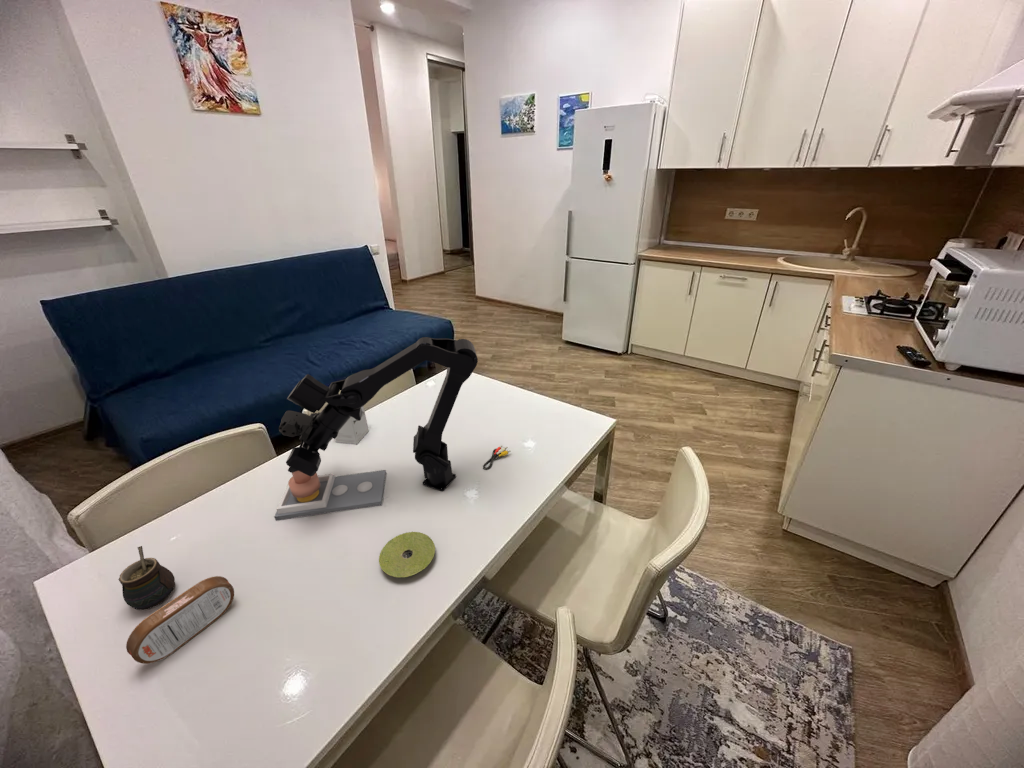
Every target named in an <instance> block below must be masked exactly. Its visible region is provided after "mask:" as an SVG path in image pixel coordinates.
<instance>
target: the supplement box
mask: <svg viewBox="0 0 1024 768" xmlns="http://www.w3.org/2000/svg"><path fill="white" fill-rule="evenodd" d="M361 409H362V411H363V413H362V417H361V420H360V421H358V420H356V419H355V418H353V417H350V419H349V420H348V421H347V422H346V423H345V424H344V426H343V427H342V428H341V429H340V430H339V432H338V435H337V437H336V438H335V439H334V440H335V442H336V443H340V444H349V445H350V444H351V445H358V444H359V442H360V441H361V440H362V439H363V438H364V436H366V435H367V434H368V432H370V430H369V425H368V420H367V415H366V411H365V405H364V406H362V407H361Z"/></svg>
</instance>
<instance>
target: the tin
mask: <svg viewBox="0 0 1024 768" xmlns="http://www.w3.org/2000/svg"><path fill="white" fill-rule="evenodd" d="M234 598H235V590H234V587H233V585H232V584H231V583H230V582H229V579H227V578H226V577H223V576H218V575H216V576H211V577H207V578H204V579H202V580H200V581H199V582H197V583H195V584H194V585H192V586H191V587H190V588H188V589H186V591H184V592H182V593H181V594H180V595H178V596H176V597H175V598H173V599H172V600H170V601H169V602H167V603H166V604H164V605H162V607H160V608H159V609H157V610H155V611H154V612H153V613H151V614H149V615H148V616H147V617H145V618H144V619H143V620H141V621H140V622H139V623H138V624H137V625H136V626H135V627H134V629H133V630H132V631H131V633H130V635H129V636H128V637H127V641H126V644H125V645H126V646H125V649H126V652H127V654H128V655H130V656H131V657H132V659H133V660H134V661H135V662H137V663H138V664H143V665H146V664H147V665H149V664H154V663H157V662H160V661H162V660H164V659H166V658H167V657H169V656H171V655H172V654H174V653H175V652H177V651H178V650H179V649H180V648H181V647H183V646H184V645H185V644H187V643H188V642H189V641H191V640H192V639H194V638H195V637H196V636H197V635H199V634H200V633H202V632H203V631H204V630H205V629H207V628H208V627H209V626H210V625H212V624H213V623H215V622H216V621H217V620H218V619H220V618H221V617H222V616H223V615H224V614H225V613H226V612H227V611H228V609H230V607H231V605H232V603H233V602H234Z"/></svg>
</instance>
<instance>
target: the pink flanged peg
mask: <svg viewBox="0 0 1024 768" xmlns="http://www.w3.org/2000/svg"><path fill="white" fill-rule="evenodd" d="M289 467H290V466H288V468H289ZM291 475H292V476H291V478H290V479H289V480H288V482H287V484H289V487H290V490H291V492H292V495H293V496H294V497H297V498H303V497H307V496H310V495H312V494H314V493H315V492H316V491H317V490H318V489H319V488H320V481H319V478H318V472H316V473H315V474H314V475H313V476H308V475H306V474H304V473H302V472H300V471H296V472H293V473H291Z"/></svg>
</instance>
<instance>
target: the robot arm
mask: <svg viewBox="0 0 1024 768" xmlns="http://www.w3.org/2000/svg"><path fill="white" fill-rule="evenodd" d="M425 361H427V362H432V363H435V364H437V365H440V366H443V367H444V368H446V373H445V377H444V379H443V383H442V385H441V387H440V390H439V392H438V395H437V398H436V401H435V404H434V406H433V408H432V411H431V414H430V416H429V419H428V421H427V423H426V424H425V425H424V426H421V425H418V426H417V431H416V434H414V436H413V446H412V447H413V448H412V449H413V450H412V451H413V452H412V453H413V454H414V459H415V461H416V462H417V463H418V464H420V465H422V468H423V474H424V480H423V481H422V484H421V485H423V486H425V487H428V488H432V489H434V490H437V491H440V492H443V491H445V490H446V489H447V487H448V486H449V485H450V484H451V483H452V482H453V480H455V478H456V477H457V474H456V473H453V472H452V471H453V470H452V463H451V462H452V461H451V459H450V460H449V455H448V454H449V453H448V444H447V443H446V442H444V441H442V439H443V433H444V431H445V428H446V425H447V422H448V421H449V418H450V415H451V413H452V411H453V408H454V405H455V404H456V400H457V397H458V396H459V392H460V390H461V387H462V386H463V384H464V383H465V382H466V381H467V380H468V379H469V378H470V377H471V375H472V373H473V372H474V371H475V370H476V367H477V365H478V361H479V360H478V355H477V351H476V348H475V346H474V344H473V342H472V341H470V340H469V339H466V338H459V339H452V338H433V337H429V336H423V337H420V338H419V339H417V341H415V342H414V343H412V344H411V345H409V346H408V347H406V348H405V349H403V350H401V351H399V352H397V353H396V354H395V355H393V356H392V357H390V358H388V359H386V360H385V361H383V362H382V363H380V364H378V365H377V366H374V367H373V368H370V369H362V370H359V371H358V372H355V373H353V374H351V375H349V376H347V378H345V379H341V380H337V381H336V380H335V381H332V382H330V384H329V386H327V385H326V384H324V383H322V382H321V381H319V380H317V379H316V378H315V377H314V376H312V375H311V374H309V373H307V374H306V375H305V376H304V377H303V378H302V379H301V380H299V381H298V383H297V384H296V385H295V386H294V388H293V389H292V391H290V393H289V395H288V396H287V398H286V400H288V401H290V402H292V403H293V404H295V405H297V406H300V407H301V408H303V409H304V410H306V411H307V412H310V413H311V414H309V415H308V414H307V413H303V412H298V411H295V410H286V411H285V413H284V414H283V415H282V417H281V420H280V425H279V426H278V431H279V433H280V434H281V435H283V436H286V437H291V438H294V437H296V436H299V439H298V440H300V445H299V446H297V447H295V446H293V447H292V450H291V451H290V453H289V455H288V457H287V460H286V461H285V463H286V465H287V466H288V469H287V471H288V472H289V473H291V474H292V473H293V472H296V471H300V472H302V473H304V474H306V475H308V476H313V475H314V474H315V473H318V471H319V468H320V465H321V463H322V458H321V454H320V451H319V450H322V451H323V452H325V451H326V450H327V448H328V446H329V443H330V442H331V441H332V440H335V438H336V437H337V435H338V432H339V430H340V429H341V428H342V427H343V426H344V424H345V423H346V422H347V421H348V420H349V419H350V417H353V418H355V419H356V420H358V421H360V420H361V417H362V413H363V411H362V409H361V407H362V406H364V407H365V405H366V404H367V403H368V402H370V401H371V400H372V399H373V398H374V397H375V396H376V395H377V393H378V392H379V391H380V390H381V389H382V388H383V387H384V386H386V385H388V384H389V383H391V382H393V381H395V380H396V379H398V378H399V377H401V376H403V375H404V374H406V373H407V372H409V371H411V370H412V369H414V368H416V367H417V366H419V365H421V364H423V363H424V362H425ZM326 403H327V404H326ZM320 410H321V411H320ZM289 466H290V467H289Z"/></svg>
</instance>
